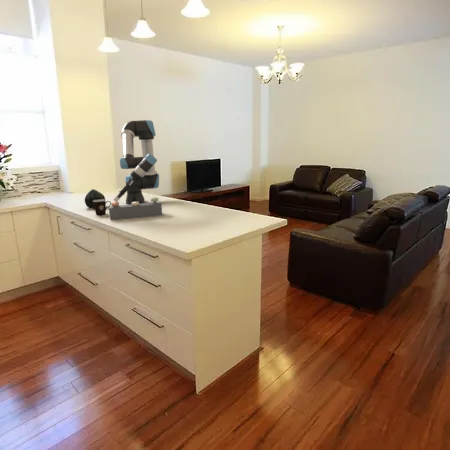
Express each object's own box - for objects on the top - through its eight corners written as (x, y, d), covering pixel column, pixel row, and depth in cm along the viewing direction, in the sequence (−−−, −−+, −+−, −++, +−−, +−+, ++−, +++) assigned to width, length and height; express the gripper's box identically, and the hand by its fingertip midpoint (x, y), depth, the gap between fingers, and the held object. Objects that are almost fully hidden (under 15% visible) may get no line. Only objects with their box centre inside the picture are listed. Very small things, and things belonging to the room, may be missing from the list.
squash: (96, 203, 253) (101, 186, 260) (78, 204, 257) (83, 187, 263) (106, 212, 266) (110, 195, 272) (89, 213, 269) (93, 196, 276)
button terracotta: (119, 208, 230) (118, 201, 228) (119, 209, 225) (118, 203, 224) (112, 209, 229) (111, 202, 227) (111, 210, 224) (110, 203, 223)
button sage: (158, 203, 235) (158, 197, 234) (159, 205, 231) (158, 198, 229) (151, 204, 234) (150, 197, 233) (151, 205, 230) (151, 199, 228)
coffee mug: (93, 216, 237) (91, 202, 235) (95, 213, 245) (93, 199, 243) (110, 214, 239) (109, 200, 237) (112, 212, 248) (110, 198, 245)
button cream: (139, 207, 233) (138, 201, 231) (139, 209, 228) (138, 202, 227) (132, 208, 232) (131, 201, 230) (132, 210, 227) (131, 203, 226)
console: (161, 213, 238) (160, 201, 236) (162, 215, 232) (161, 203, 230) (111, 217, 231) (109, 206, 229) (110, 220, 224) (108, 208, 222)
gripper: (142, 178, 220) (119, 206, 220) (142, 176, 232) (120, 202, 233) (133, 171, 217) (109, 198, 218) (133, 169, 229) (111, 195, 230)
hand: (115, 200), depth 225 cm, fingers closed
